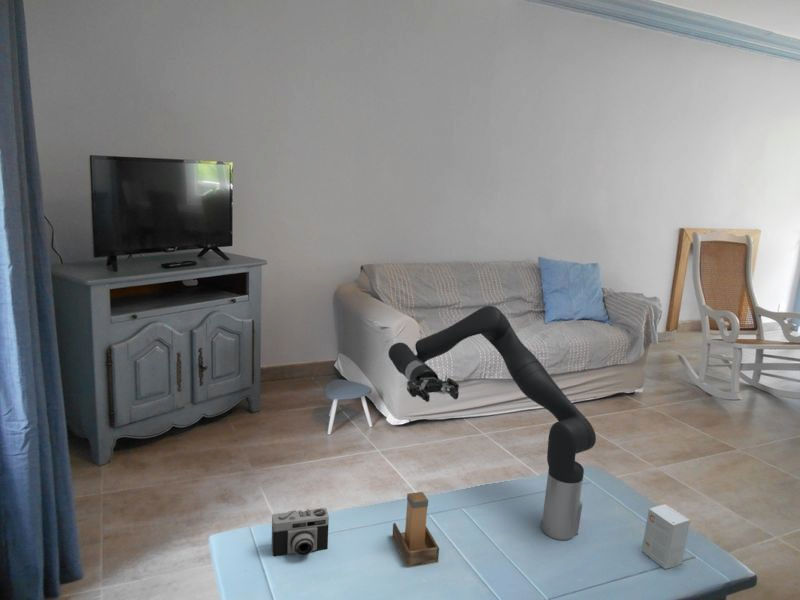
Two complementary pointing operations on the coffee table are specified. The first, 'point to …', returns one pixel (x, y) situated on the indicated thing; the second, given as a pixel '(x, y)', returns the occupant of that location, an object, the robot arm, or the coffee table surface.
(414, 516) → the brown tall square block
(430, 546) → the walnut box
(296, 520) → the camera
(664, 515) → the small box
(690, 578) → the coffee table surface
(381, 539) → the coffee table surface
